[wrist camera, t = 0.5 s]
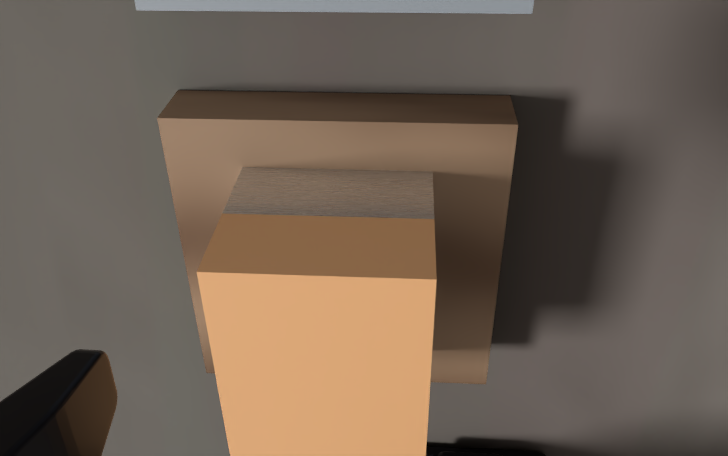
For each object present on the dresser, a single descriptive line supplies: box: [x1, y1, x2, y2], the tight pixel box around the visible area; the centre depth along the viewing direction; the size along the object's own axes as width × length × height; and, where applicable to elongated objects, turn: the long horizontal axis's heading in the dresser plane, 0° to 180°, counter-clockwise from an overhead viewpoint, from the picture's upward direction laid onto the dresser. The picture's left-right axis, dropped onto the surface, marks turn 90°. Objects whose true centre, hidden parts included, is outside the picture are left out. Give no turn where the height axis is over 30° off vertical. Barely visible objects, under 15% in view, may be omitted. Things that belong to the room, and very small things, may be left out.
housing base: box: [223, 167, 434, 219], centre depth 21 cm, size 7×6×2 cm
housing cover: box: [197, 213, 437, 456], centre depth 19 cm, size 7×6×2 cm
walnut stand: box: [157, 90, 518, 384], centre depth 23 cm, size 10×10×2 cm
